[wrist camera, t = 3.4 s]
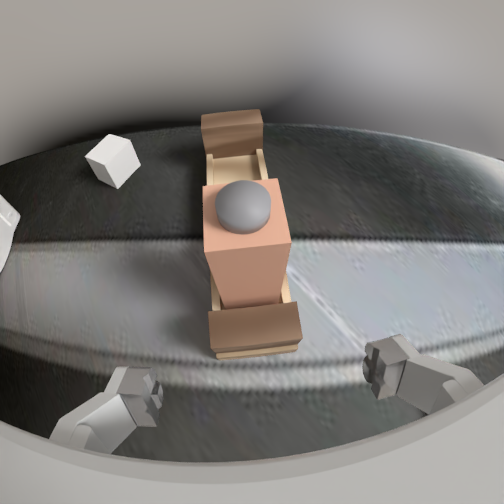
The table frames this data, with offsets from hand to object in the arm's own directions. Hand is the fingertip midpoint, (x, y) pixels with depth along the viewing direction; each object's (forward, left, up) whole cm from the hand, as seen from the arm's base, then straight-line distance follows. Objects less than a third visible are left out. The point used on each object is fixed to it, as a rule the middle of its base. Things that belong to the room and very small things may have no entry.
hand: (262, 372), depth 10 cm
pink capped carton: (-6, +6, -13) cm, 16 cm away
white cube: (-32, +8, -16) cm, 37 cm away
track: (-11, +11, -16) cm, 22 cm away
